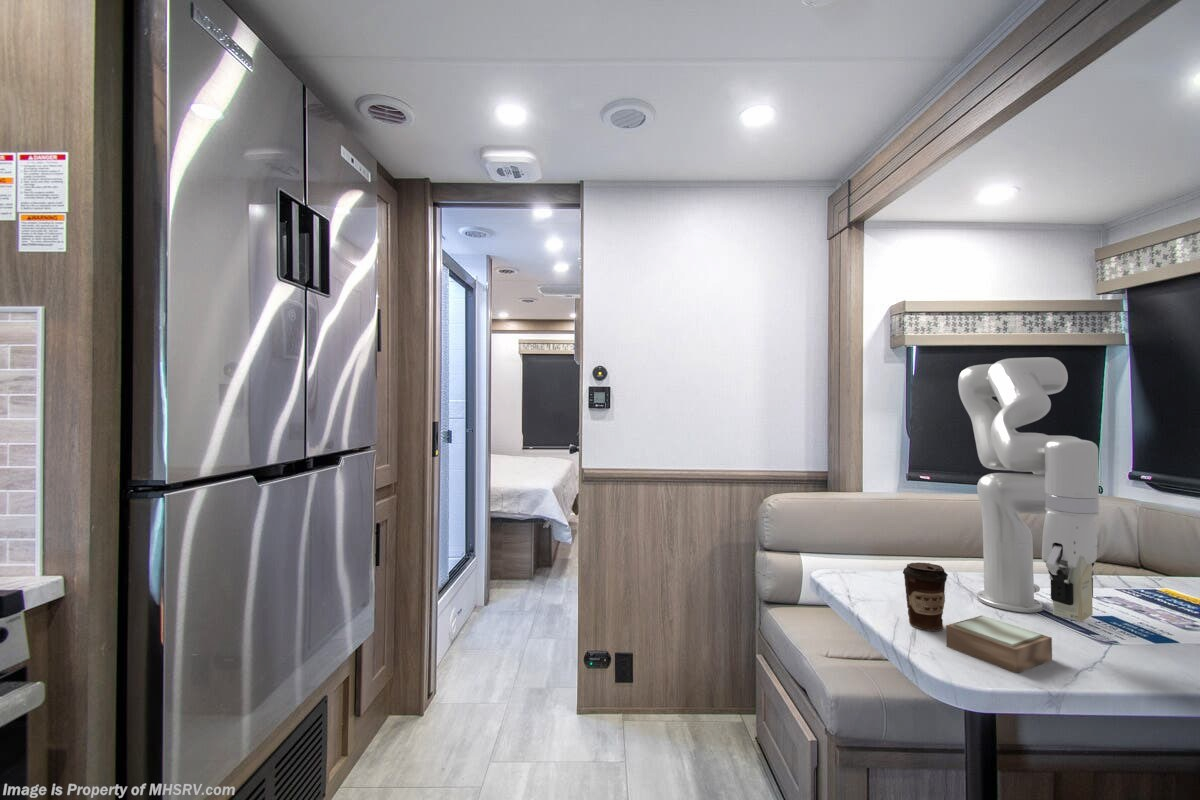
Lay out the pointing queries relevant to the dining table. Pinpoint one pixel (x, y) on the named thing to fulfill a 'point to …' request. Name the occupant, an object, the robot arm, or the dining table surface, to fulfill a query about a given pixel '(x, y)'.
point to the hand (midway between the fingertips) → (1072, 598)
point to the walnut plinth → (999, 643)
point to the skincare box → (1077, 594)
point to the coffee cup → (925, 595)
